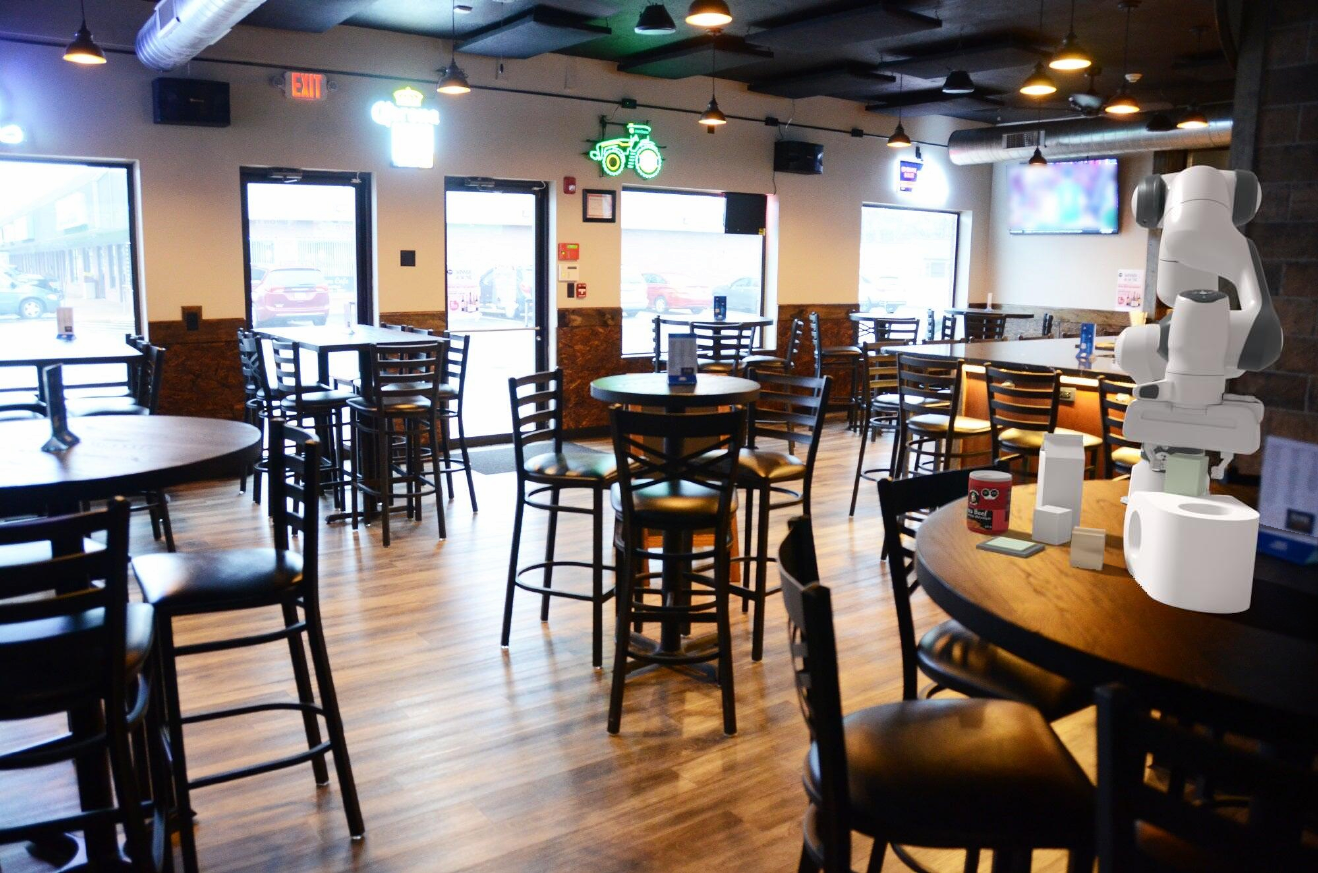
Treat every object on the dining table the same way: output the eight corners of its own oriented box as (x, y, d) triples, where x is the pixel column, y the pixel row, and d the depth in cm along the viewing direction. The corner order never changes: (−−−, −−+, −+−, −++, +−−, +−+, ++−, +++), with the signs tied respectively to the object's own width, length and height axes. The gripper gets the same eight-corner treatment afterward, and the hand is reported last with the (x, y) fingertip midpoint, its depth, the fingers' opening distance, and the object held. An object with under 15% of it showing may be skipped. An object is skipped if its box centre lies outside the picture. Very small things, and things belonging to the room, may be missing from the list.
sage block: (1172, 487, 175) (1176, 452, 175) (1205, 492, 172) (1208, 456, 171) (1163, 492, 172) (1167, 456, 171) (1196, 497, 169) (1200, 460, 168)
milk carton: (1079, 536, 199) (1086, 437, 196) (1039, 533, 200) (1047, 436, 197) (1072, 527, 206) (1079, 432, 203) (1034, 524, 207) (1041, 430, 204)
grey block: (1045, 535, 199) (1047, 505, 198) (1070, 541, 196) (1072, 509, 195) (1031, 539, 196) (1033, 508, 195) (1056, 545, 192) (1058, 513, 191)
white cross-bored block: (1264, 617, 154) (1209, 569, 179) (1275, 523, 152) (1217, 487, 176) (1161, 610, 157) (1120, 563, 181) (1170, 517, 155) (1127, 483, 179)
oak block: (1072, 559, 183) (1074, 526, 182) (1103, 563, 181) (1105, 529, 180) (1069, 566, 179) (1072, 532, 178) (1100, 570, 177) (1103, 536, 176)
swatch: (997, 539, 196) (997, 534, 196) (1044, 548, 190) (1044, 543, 190) (976, 548, 189) (976, 543, 189) (1024, 557, 184) (1024, 553, 183)
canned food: (957, 526, 205) (961, 471, 203) (990, 523, 208) (993, 469, 206) (984, 536, 198) (987, 479, 196) (1017, 532, 201) (1021, 476, 199)
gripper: (1270, 394, 165) (1261, 480, 168) (1135, 383, 179) (1128, 463, 181) (1260, 398, 161) (1251, 486, 163) (1123, 386, 174) (1116, 468, 177)
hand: (1185, 474), depth 172 cm, fingers open, 8 cm apart
